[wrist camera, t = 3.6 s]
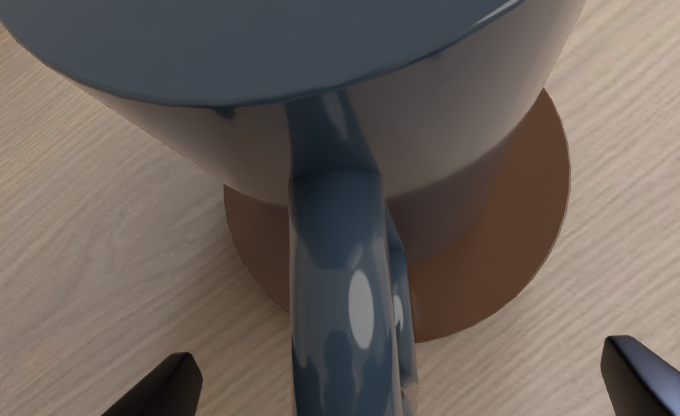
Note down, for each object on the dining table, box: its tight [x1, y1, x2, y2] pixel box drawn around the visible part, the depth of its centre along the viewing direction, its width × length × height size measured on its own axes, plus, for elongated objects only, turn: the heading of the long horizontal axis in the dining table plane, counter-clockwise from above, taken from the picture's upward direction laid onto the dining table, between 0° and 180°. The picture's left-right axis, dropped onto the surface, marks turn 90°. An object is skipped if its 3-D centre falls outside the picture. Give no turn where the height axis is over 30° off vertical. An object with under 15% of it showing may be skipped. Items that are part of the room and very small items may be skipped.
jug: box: [0, 0, 587, 416], centre depth 11 cm, size 16×14×14 cm
